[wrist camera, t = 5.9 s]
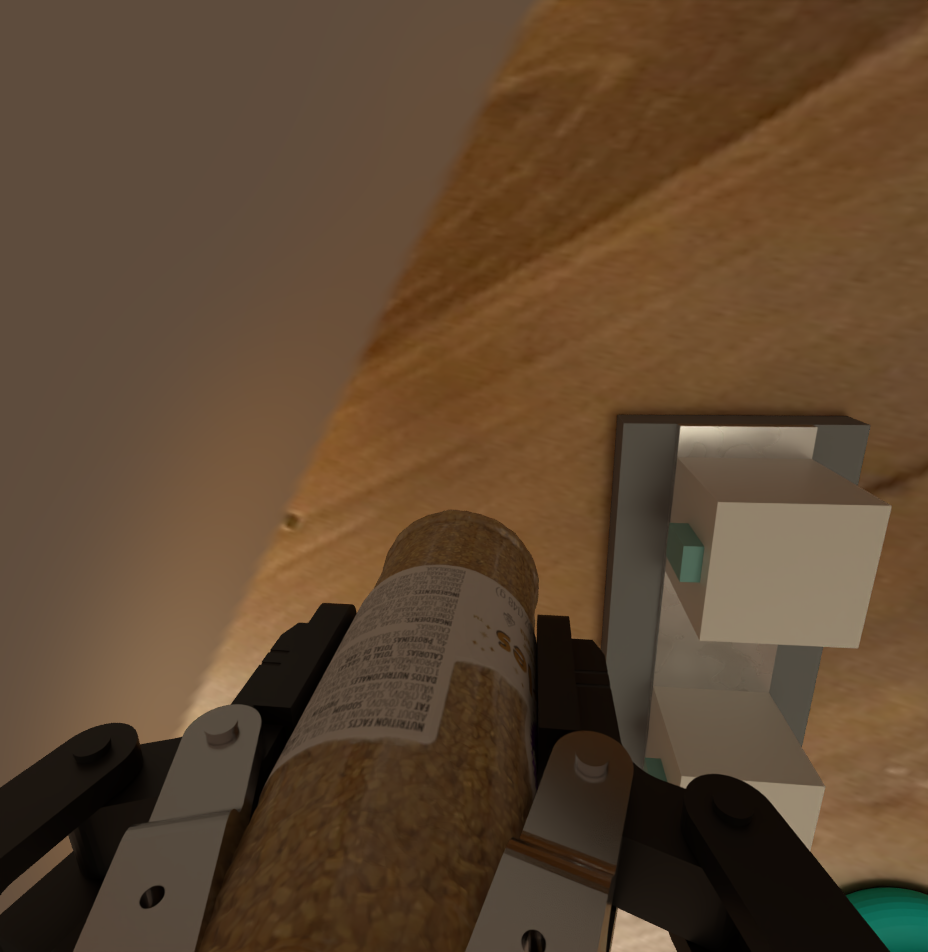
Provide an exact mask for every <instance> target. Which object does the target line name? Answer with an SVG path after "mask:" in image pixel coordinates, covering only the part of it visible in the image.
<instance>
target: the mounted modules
mask: <svg viewBox="0 0 928 952" xmlns="http://www.w3.org/2000/svg"><path fill="white" fill-rule="evenodd" d="M891 507H892V506H891V505H889V504H888V503H886V502H884V501H883V500H881V499H879V498H877V497H876V496H874V495H872V494H871V493H869V492H867V491H866V490H864V489H862V488H860V487H859V486H857V485H855V484H854V483H852V482H850V481H848V480H847V479H845V478H843V477H842V476H840V475H838V474H837V473H835V472H833V471H831V470H830V469H828V468H826V467H825V466H823V465H821V464H819V463H818V462H816V461H814V460H813V459H772V458H700V457H677V464H676V474H675V483H674V493H673V502H672V512H671V521H670V523H669V531H668V540H667V550H666V557H667V559H666V568H665V571H666V574H667V576H668V578H669V580H670V582H671V584H672V586H673V588H674V590H675V592H676V594H677V596H678V598H679V600H680V602H681V604H682V606H683V608H684V610H685V612H686V614H687V616H688V618H689V620H690V622H691V624H692V626H693V629H694V631H695V633H696V635H697V637H698V639H699V641H716V642H737V643H757V644H778V645H799V646H819V647H840V648H858V647H859V643H860V638H861V634H862V630H863V626H864V621H865V617H866V613H867V609H868V605H869V600H870V596H871V592H872V588H873V583H874V579H875V575H876V571H877V566H878V562H879V558H880V554H881V550H882V545H883V541H884V537H885V533H886V528H887V524H888V520H889V516H890V512H891ZM643 771H645V772H646V773H648V774H650V775H652V776H654V777H656V778H658V779H660V780H663V781H666V782H668V783H671V784H674V785H677V786H680V787H683V788H686V787H687V785H688V784H689V783H690V782H691V781H692V780H693V779H694V778H696V777H699V776H701V775H705V774H722V775H727V776H731V777H734V778H737V779H739V780H742V781H744V782H746V783H748V784H749V785H751V786H753V787H754V788H755V789H757V790H758V791H760V792H761V793H762V794H763V795H764V796H765V797H766V798H767V799H768V800H769V801H770V802H771V803H772V805H773V806H774V807H775V808H776V810H777V811H778V812H779V813H780V814H781V816H782V817H783V818H784V819H785V821H786V822H787V823H788V824H789V826H790V827H791V828H792V829H793V831H794V832H795V833H796V834H797V836H798V837H799V838H800V839H801V841H802V842H803V843H804V844H805V846H806V847H807V848H808V849H809V851H810V850H811V846H812V841H813V837H814V833H815V829H816V824H817V820H818V816H819V812H820V807H821V803H822V799H823V795H824V791H825V785H824V784H823V782H822V780H821V779H820V777H819V775H818V774H817V772H816V770H815V769H814V767H813V765H812V764H811V762H810V760H809V759H808V757H807V755H806V754H805V752H804V750H803V749H802V747H801V745H800V744H799V742H798V740H797V739H796V737H795V735H794V734H793V732H792V730H791V729H790V727H789V725H788V724H787V722H786V720H785V719H784V717H783V715H782V714H781V712H780V710H779V709H778V707H777V705H776V704H775V702H774V700H773V699H772V697H771V695H770V694H769V693H764V692H747V691H729V690H712V689H695V688H677V687H660V686H653V692H652V701H651V710H650V720H649V729H648V739H647V748H646V757H645V759H644V769H643Z"/></svg>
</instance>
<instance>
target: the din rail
mask: <svg viewBox="0 0 928 952" xmlns="http://www.w3.org/2000/svg"><path fill="white" fill-rule="evenodd" d="M817 428H818V427H816V426H814V425H770V424H678V427H677V437H676V446H675V456H674V465H673V475H672V485H671V494H670V504H669V513H668V523H667V533H666V542H665V552H664V562H663V571H662V581H661V590H660V600H659V610H658V619H657V629H656V638H655V648H654V658H653V667H652V677H651V687H650V696H649V706H648V715H647V725H646V735H645V744H644V754H643V763H642V770H643V769H644V759H645V757H646V748H647V739H648V729H649V720H650V710H651V701H652V692H653V686H660V687H677V688H695V689H712V690H729V691H747V692H764V693H769V690H770V684H771V679H772V673H773V668H774V662H775V657H776V652H777V646H778V644H757V643H737V642H716V641H699V639H698V637H697V635H696V633H695V631H694V629H693V626H692V624H691V622H690V620H689V618H688V616H687V614H686V612H685V610H684V608H683V606H682V604H681V602H680V600H679V598H678V596H677V594H676V592H675V590H674V588H673V586H672V584H671V582H670V580H669V578H668V576H667V574H666V571H665V568H666V559H667V557H666V550H667V540H668V531H669V523H670V521H671V512H672V502H673V493H674V483H675V474H676V464H677V457H700V458H772V459H812V456H813V450H814V445H815V439H816V434H817Z"/></svg>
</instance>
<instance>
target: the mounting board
mask: <svg viewBox="0 0 928 952" xmlns="http://www.w3.org/2000/svg"><path fill="white" fill-rule="evenodd" d="M678 424H770V425H814V426H816V427H818V428H817V434H816V439H815V445H814V450H813V456H812V459H813V460H814V461H816V462H818V463H819V464H821V465H823V466H825V467H826V468H828V469H830V470H831V471H833V472H835V473H837V474H838V475H840V476H842V477H843V478H845V479H847V480H848V481H850V482H852V483H854V484H855V485H857V486H858V482H859V477H860V472H861V468H862V463H863V458H864V454H865V449H866V444H867V440H868V435H869V430H870V425H869V424H866V423H863V422H861V421H858V420H856V419H853V418H851V417H848V416H739V415H617V428H616V443H615V457H614V471H613V486H612V500H611V515H610V529H609V544H608V558H607V572H606V587H605V601H604V616H603V630H602V644H601V651H602V652H603V653H604V655H605V659H606V664H607V670H608V675H609V680H610V688H611V691H612V696H613V701H614V707H615V712H616V717H617V722H618V728H619V733H620V738H621V742H622V746H623V747H624V748H625V749H626V751H627V752H628V754H629V755H630V757H631V759H632V761H633V762H634V763H635V764H636V765H637V766H638V767H639V768H641V769H642V763H643V754H644V744H645V735H646V725H647V715H648V706H649V696H650V687H651V677H652V667H653V658H654V648H655V638H656V629H657V619H658V610H659V600H660V590H661V581H662V571H663V562H664V552H665V542H666V533H667V523H668V513H669V504H670V494H671V485H672V475H673V465H674V456H675V446H676V437H677V427H678ZM822 650H823V647H819V646H799V645H778V646H777V652H776V657H775V662H774V668H773V673H772V679H771V684H770V690H769V694H770V695H771V697H772V699H773V700H774V702H775V704H776V705H777V707H778V709H779V710H780V712H781V714H782V715H783V717H784V719H785V720H786V722H787V724H788V725H789V727H790V729H791V730H792V732H793V734H794V735H795V737H796V739H797V740H798V742H799V744H800V745H801V747H802V744H803V739H804V734H805V730H806V725H807V720H808V716H809V711H810V706H811V702H812V697H813V692H814V688H815V683H816V678H817V674H818V669H819V664H820V660H821V655H822Z"/></svg>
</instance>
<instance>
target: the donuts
mask: <svg viewBox="0 0 928 952" xmlns="http://www.w3.org/2000/svg"><path fill="white" fill-rule="evenodd" d="M846 897H847V898H848V899H849V901H850V902H851V903H852V904H853V906H854V907H855V908H856V909H857V911H858V912H859V913H860V914H861V916H862V917H863V918H864V919H865V921H866V922H867V923H868V924H869V926H870V927H871V928H872V929H873V931H874V932H875V933H876V934H877V936H878V937H879V938H880V939H881V941H882V942H883V943H884V944H885V946H886V947H887V948H888V949H889V951H890V952H928V895H926V894H923V893H921V892H917V891H913V890H908V889H902V888H892V887H885V888H871V889H865V890H861V891H857V892H854V893H851V894H848V895H846Z"/></svg>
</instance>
